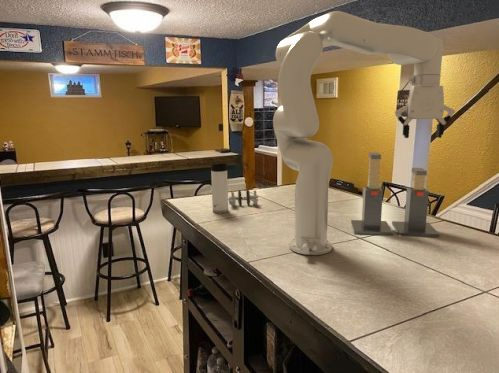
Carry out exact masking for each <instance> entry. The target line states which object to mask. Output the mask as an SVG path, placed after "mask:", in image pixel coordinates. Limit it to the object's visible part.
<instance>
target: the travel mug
mask: <svg viewBox="0 0 499 373" xmlns="http://www.w3.org/2000/svg"><path fill="white" fill-rule="evenodd" d="M210 165H211V166H210V167H211V170H210V171H211V174H210V176H211V196H212V197H211V199H212V200H211V201H212V213H215V214H225V213H228V212H229V187H228V186H229V183H228V163H227V162H218V163H211V164H210Z"/></svg>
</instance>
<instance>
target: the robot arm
mask: <svg viewBox="0 0 499 373" xmlns="http://www.w3.org/2000/svg"><path fill="white" fill-rule="evenodd" d="M332 46H333V47H339V48H342V49H346V50H350V51H353V52H356V53H359V54H363V55H369V56H370V55H371V56H373V55H374V56H379V55H388V59H389V60H390V61H391V62H392V63H393V64H395V65H398V66H405V65H412V64H413V66H414V67H413V68H414V69H413V76H412V77H411V78H410V77H409V78H408V83H409V84H411V86H410V89H409V92H408V97H407V104H406V105H405V106H403V107H400V108H399V109H397V110H395V111H394V114H395V116H396V118H397V121H399V122H400V123H401V124H402V136H404V139H408V138H409V137H410V125H409V123H411V121H412V120H436V122H437V123H438V124H437V125H436V130H435V131H436V133H435V137H436V138H438V139H440V138H441V139H442V138H443V137H442V136H443V135H444V128H445V125H446V124H447V122H449V121H450V120H451V118H452V116H453V115H454V113H455V111H456V110H455V109H453V108H451V107H449V106H447V105H445V96H444V95H445V94H444V93H445V92H444V86H443V85H440V84H441V73H442V60H443V49H444V41H443V40H442V39H441V38H438V37H434V35H432V34H431V33H430V32H428V31H424V30H421V29H418V28H416V27H411V26H406V25H399V24H398V25H397V24H396V25H395V24H390V23H389V24H388V23H379V22H374V21H372V20H368V19H365V18H363V17H359V16H356V15H353V14H350V13H349V12H348V13H347V12H344V11H341V10H334V11H330V12H327V13H325V14H323V15H320V16H317V17H316V18H314V19H312V20H310V21H309V22H307V23H306V24H304V25H303V26H302V27H301V28H299V29H298V30H296V31H295V32H292V33H291V34H289V35H288V36H286V37H285V38H283V39H282V40H281V41H280V42H279V43H278V44H277V46H276V50H275V59H276V61H277V63H278V65H279V67H280V69H279V73H278V81H277V85H278V86H277V87H278V92H279V97H280V102H281V105H279V107H278V108H277V109H276V110H275V112H274V114H273V118H272V119H273V120H272V127H273V131H274V134H275V138H276V142H277V145H278V148H279V153H280V155H281V158H282V160H283V163H284V164H285V165H286V166H287V167H289V168H290V169H292V170H294V171H297V172H298V175H297V178H296V181H295V187H294V238H293V239H291V240H290V241H289V243H288V245H289V246H288V247H289V249H290V250H291V251H293V253H294V252H295V253H297V254H301V255H307V256H319V255H321V256H322V255H325V254H328V253H330V252H331V251H332V250H333V244H332V242H331V241H329V240H328V218H329V216H328V214H329V186H330V177H331V172H332V167H333V161H334V160H333V153H332V151H331V149H330V148H329V147H328V146H327V145H326V144H325V143H323V142H320V141H316V140H311V139H308V138H311V137H313V136H314V135H316V133H317V132H318V131H319V127H320V119H319V115H318V112H317V107H316V103H315V102H316V101H315V99H314V95H313V91H312V85H311V77H312V73H313V70H314V68H315V66H316V64H317V62H318V61H319V60H320V58H321V56H322V54H323V51H324V49H325V48H328V47H332ZM444 112H447V114H446V115H445V114H444ZM402 113H405V116H406V117H405V118H403V116H402ZM444 115H445V116H444Z"/></svg>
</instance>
